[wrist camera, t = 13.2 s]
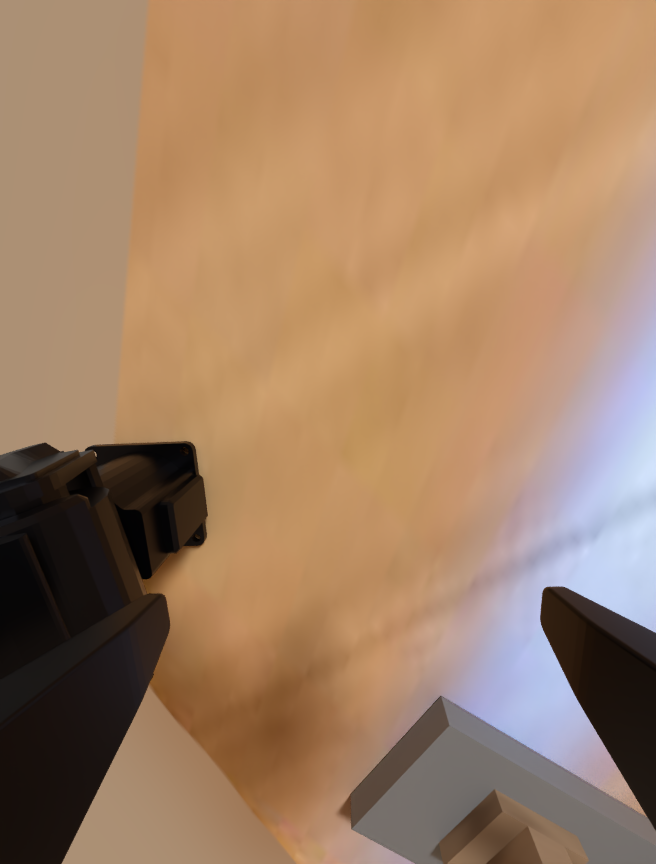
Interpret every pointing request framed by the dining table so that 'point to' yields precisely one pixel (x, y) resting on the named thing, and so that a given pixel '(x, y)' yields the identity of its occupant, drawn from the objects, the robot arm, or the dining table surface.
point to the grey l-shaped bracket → (485, 792)
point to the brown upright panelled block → (509, 837)
